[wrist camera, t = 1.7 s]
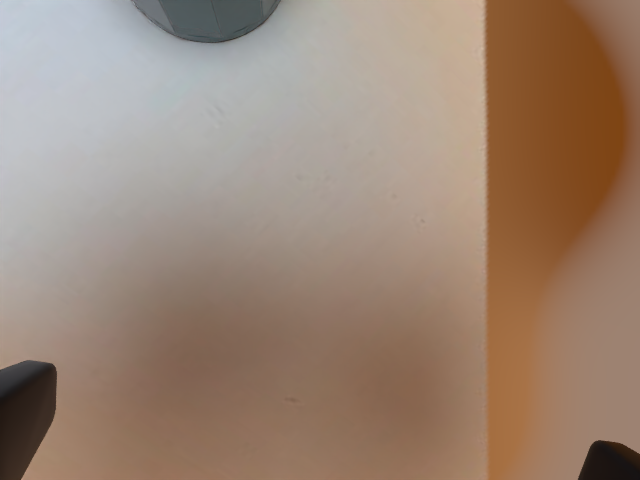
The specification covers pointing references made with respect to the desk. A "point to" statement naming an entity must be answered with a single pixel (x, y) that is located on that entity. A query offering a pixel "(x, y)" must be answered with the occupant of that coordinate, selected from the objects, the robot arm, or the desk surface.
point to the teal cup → (207, 17)
